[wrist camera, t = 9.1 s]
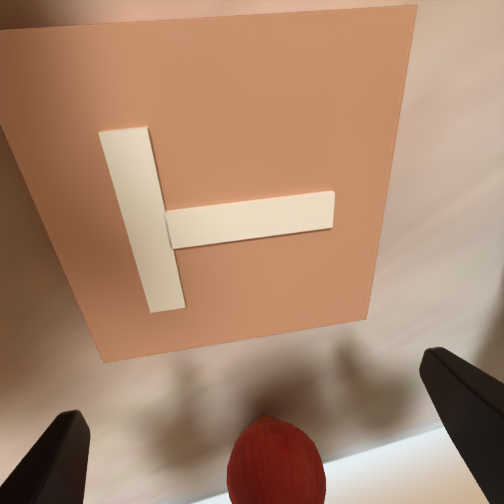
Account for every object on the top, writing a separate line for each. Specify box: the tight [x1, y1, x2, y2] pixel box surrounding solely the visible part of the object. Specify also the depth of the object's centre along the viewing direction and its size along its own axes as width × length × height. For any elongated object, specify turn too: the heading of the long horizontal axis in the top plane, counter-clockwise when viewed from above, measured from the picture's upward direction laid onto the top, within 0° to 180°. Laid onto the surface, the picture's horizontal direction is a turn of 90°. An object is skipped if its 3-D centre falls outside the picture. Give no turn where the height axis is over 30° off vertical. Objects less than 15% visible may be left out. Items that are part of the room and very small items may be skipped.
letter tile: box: [0, 5, 418, 363], centre depth 14 cm, size 14×14×1 cm
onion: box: [227, 415, 326, 504], centre depth 20 cm, size 6×6×8 cm
